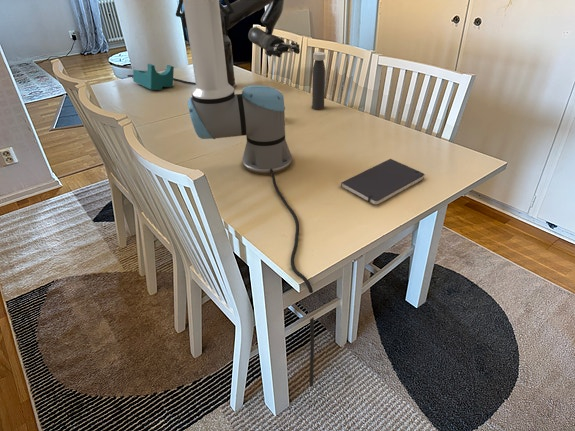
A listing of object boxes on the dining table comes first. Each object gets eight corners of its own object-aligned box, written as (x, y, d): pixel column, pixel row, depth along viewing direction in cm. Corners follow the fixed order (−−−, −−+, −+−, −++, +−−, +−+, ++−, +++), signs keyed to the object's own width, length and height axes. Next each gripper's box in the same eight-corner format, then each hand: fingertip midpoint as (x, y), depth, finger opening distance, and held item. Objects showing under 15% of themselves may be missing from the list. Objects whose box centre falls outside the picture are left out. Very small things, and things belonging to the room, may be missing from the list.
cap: (326, 57, 153) (326, 52, 152) (323, 60, 150) (323, 55, 149) (315, 57, 154) (315, 51, 153) (311, 60, 151) (311, 54, 150)
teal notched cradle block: (172, 90, 189) (173, 66, 185) (150, 89, 182) (151, 65, 177) (154, 81, 200) (155, 59, 196) (133, 80, 193) (133, 57, 188)
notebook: (389, 163, 124) (340, 187, 113) (390, 158, 123) (341, 182, 112) (424, 178, 116) (375, 206, 105) (425, 174, 115) (376, 201, 104)
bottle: (325, 106, 164) (327, 53, 152) (322, 110, 161) (323, 56, 149) (314, 105, 166) (314, 52, 154) (310, 109, 162) (311, 55, 150)
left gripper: (257, 38, 174) (273, 46, 162) (287, 33, 178) (304, 40, 166) (259, 56, 178) (274, 65, 166) (288, 51, 183) (304, 59, 171)
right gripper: (235, -35, 140) (241, 31, 152) (161, -31, 136) (173, 36, 149) (237, -33, 134) (243, 36, 146) (160, -30, 130) (172, 40, 143)
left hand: (289, 53), depth 166 cm, fingers open, 8 cm apart
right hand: (208, 36), depth 147 cm, fingers open, 13 cm apart
